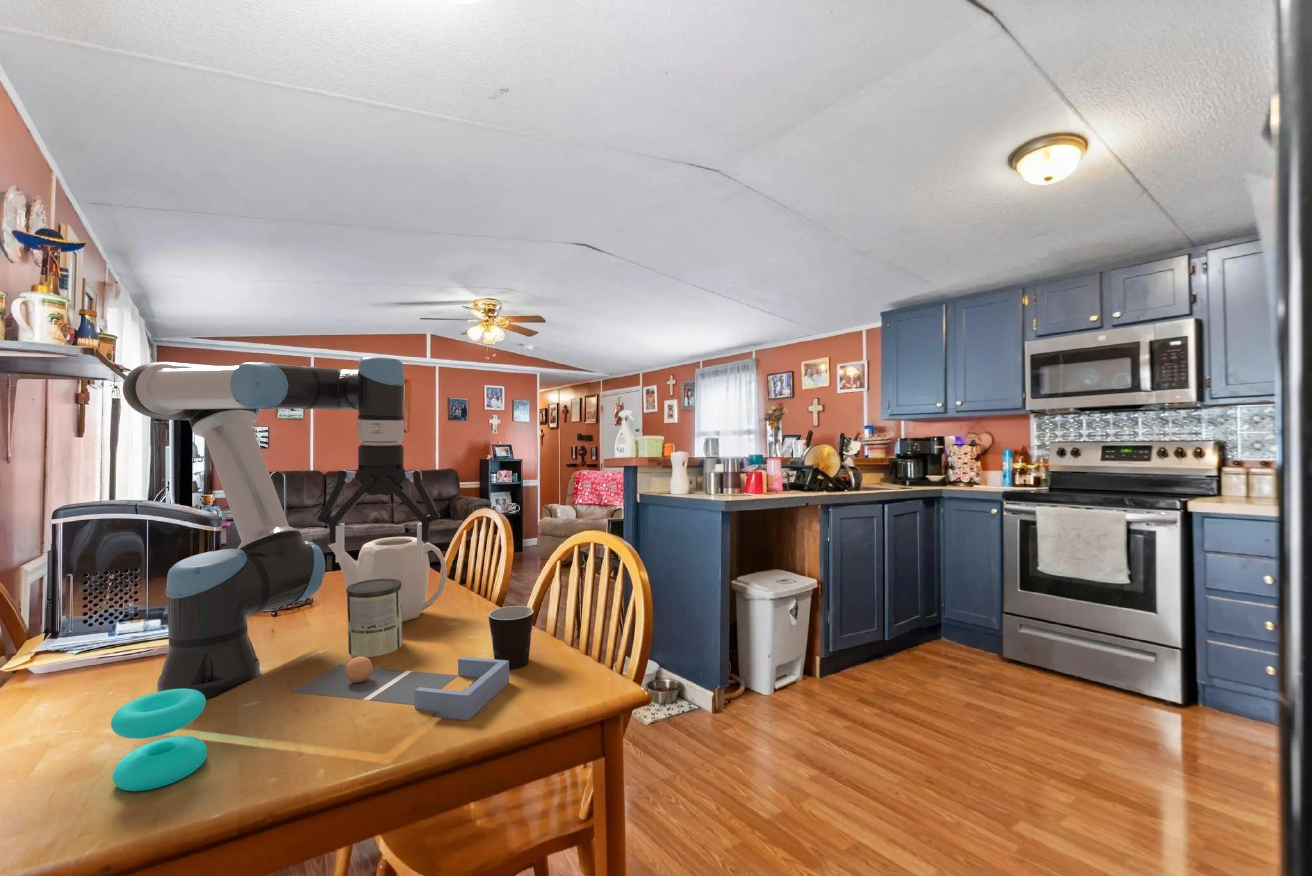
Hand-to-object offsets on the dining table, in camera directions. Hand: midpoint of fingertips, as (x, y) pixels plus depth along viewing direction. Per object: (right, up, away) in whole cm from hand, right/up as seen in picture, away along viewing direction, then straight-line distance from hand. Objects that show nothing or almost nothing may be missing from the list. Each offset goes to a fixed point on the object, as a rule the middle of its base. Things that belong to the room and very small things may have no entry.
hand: (380, 559), depth 112 cm
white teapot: (-14, -22, +36) cm, 44 cm away
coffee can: (-7, -22, +14) cm, 27 cm away
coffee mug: (+22, -22, +9) cm, 33 cm away
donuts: (-17, -24, -29) cm, 41 cm away
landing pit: (+17, -22, -7) cm, 29 cm away
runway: (+1, -22, -3) cm, 23 cm away
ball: (-3, -21, -2) cm, 22 cm away
